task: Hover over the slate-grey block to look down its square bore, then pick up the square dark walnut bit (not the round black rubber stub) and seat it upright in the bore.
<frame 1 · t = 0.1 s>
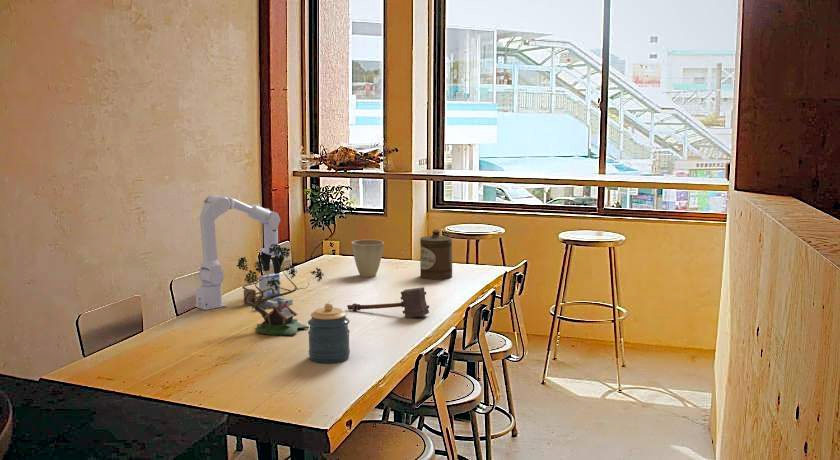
hand: (271, 272, 355), 10 cm above the table, tool pointing down, fingers open, 7 cm apart
wooden container: (436, 277, 397), on the table
plant pot: (368, 276, 398), on the table
medicine box: (269, 295, 358), on the table
hammer: (386, 314, 326), on the table
walnut bit: (250, 304, 341), on the table
canister: (329, 358, 270), on the table
bore block: (276, 304, 341), on the table
bonsai tree: (284, 333, 298), on the table
rubber stub: (263, 308, 334), on the table
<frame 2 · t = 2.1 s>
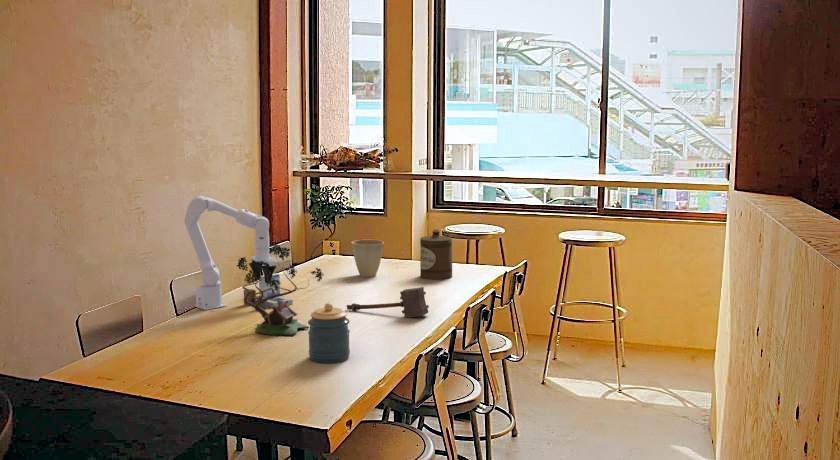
hand: (262, 281, 340), 9 cm above the table, tool pointing down, fingers open, 7 cm apart
nothing on the table moved.
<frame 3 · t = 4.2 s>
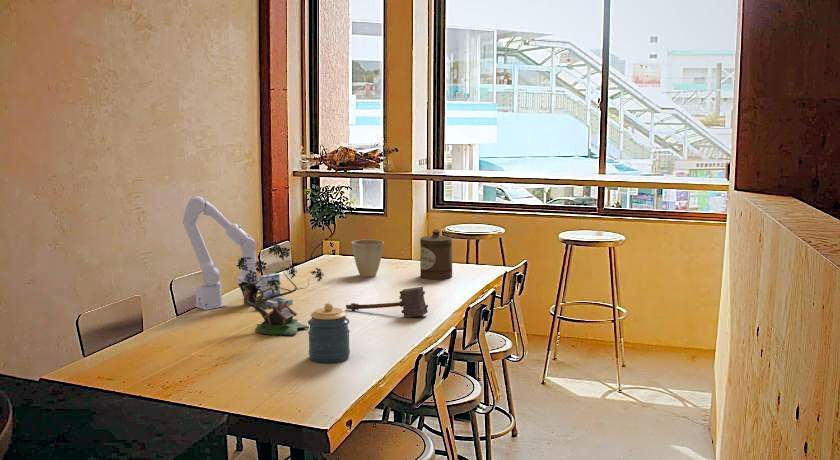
hand: (249, 301, 341), 1 cm above the table, tool pointing down, fingers closed on walnut bit, 3 cm apart
walnut bit: (250, 304, 341), on the table, touching gripper
everything else where it was.
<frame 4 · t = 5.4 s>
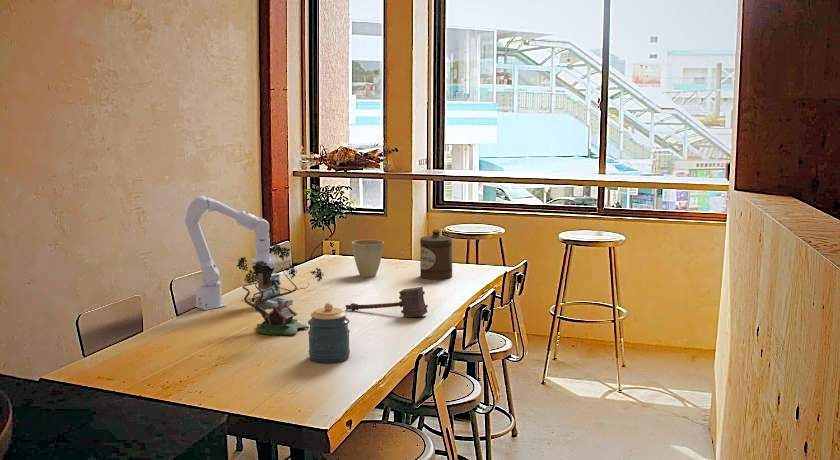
hand: (263, 283, 340), 9 cm above the table, tool pointing down, fingers closed on walnut bit, 3 cm apart
walnut bit: (264, 288, 340), point 7 cm above the table, touching gripper
everything else where it was.
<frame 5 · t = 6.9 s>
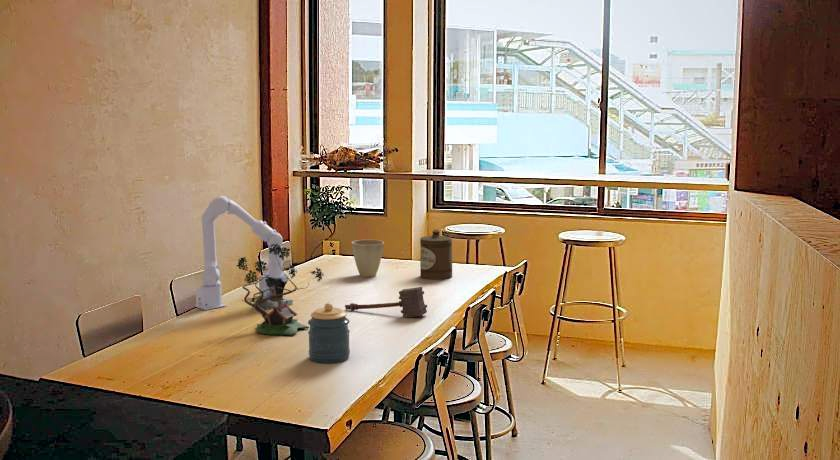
hand: (276, 296, 341), 3 cm above the table, tool pointing down, fingers closed on walnut bit, 3 cm apart
walnut bit: (276, 301, 341), point 1 cm above the table, touching gripper
everything else where it was.
when the fingers open (3 cm above the table, at t = 7.8 s): walnut bit stays where it is, resting in bore block.
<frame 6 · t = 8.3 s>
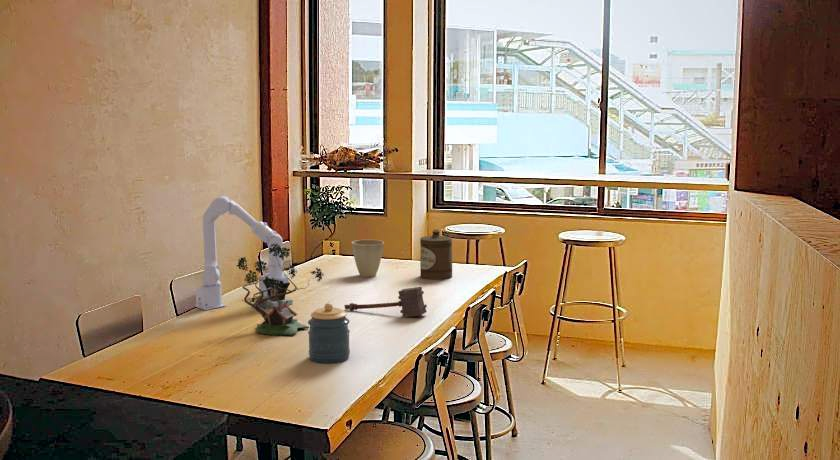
hand: (276, 298, 341), 3 cm above the table, tool pointing down, fingers open, 7 cm apart
walnut bit: (276, 304, 341), resting in bore block
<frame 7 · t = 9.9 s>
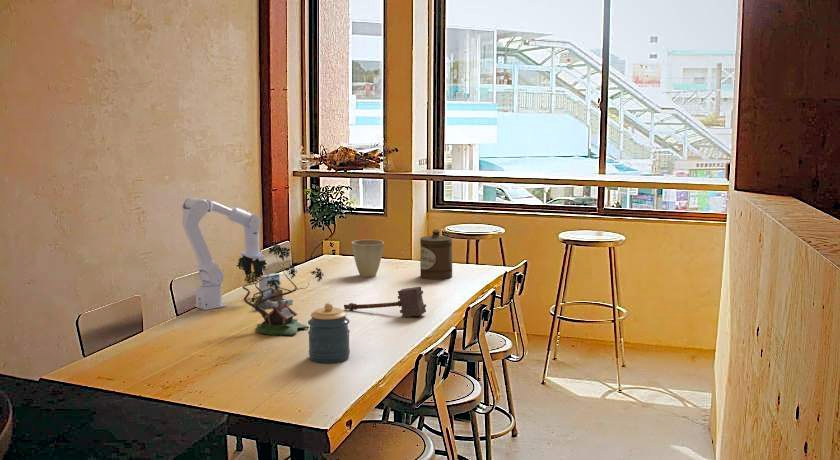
hand: (252, 275, 349), 10 cm above the table, tool pointing down, fingers open, 7 cm apart
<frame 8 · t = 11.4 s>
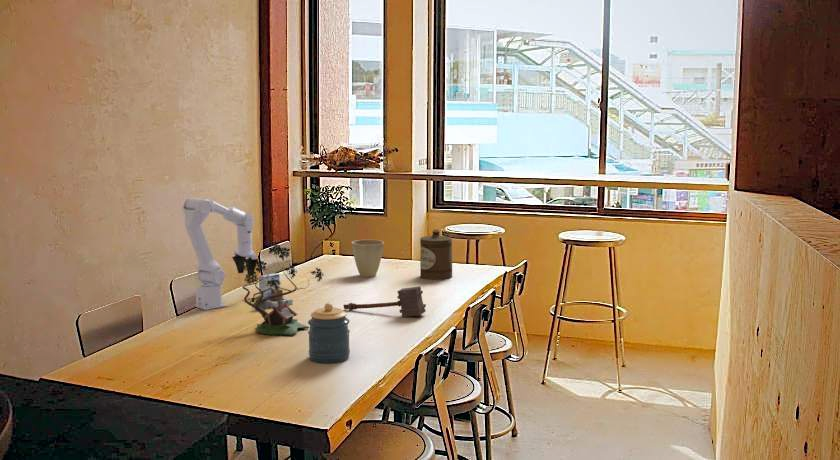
hand: (245, 274, 352), 10 cm above the table, tool pointing down, fingers open, 7 cm apart
at the end: walnut bit 0.1 cm off-centre on the bore block, point 0.0 cm above the bore block's base; walnut bit tilted 0°; the gripper is holding nothing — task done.
